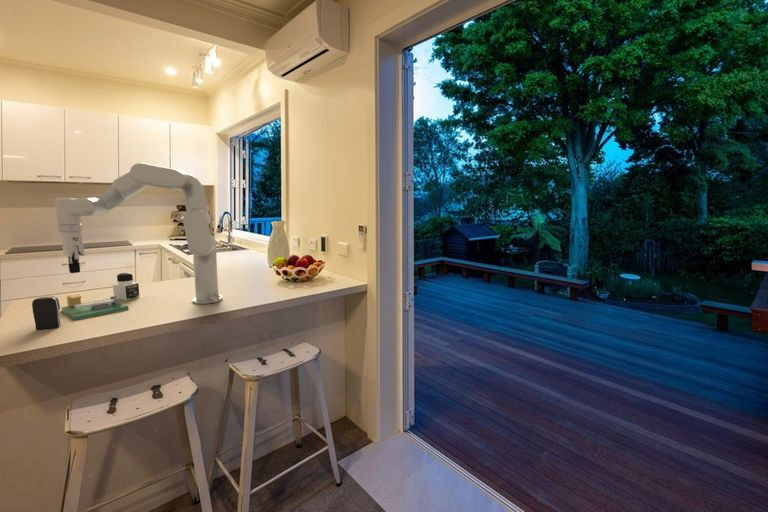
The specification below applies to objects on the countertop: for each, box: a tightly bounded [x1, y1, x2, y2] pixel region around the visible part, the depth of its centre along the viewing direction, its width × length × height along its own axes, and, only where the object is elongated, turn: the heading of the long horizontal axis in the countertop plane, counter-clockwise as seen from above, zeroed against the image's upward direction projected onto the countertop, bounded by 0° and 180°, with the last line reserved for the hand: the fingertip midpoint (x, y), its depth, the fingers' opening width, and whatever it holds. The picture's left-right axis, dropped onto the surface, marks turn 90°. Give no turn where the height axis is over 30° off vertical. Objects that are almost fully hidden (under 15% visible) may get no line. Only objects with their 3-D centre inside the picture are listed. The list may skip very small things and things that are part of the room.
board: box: [60, 295, 129, 321], centre depth 156 cm, size 19×18×5 cm
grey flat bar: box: [75, 298, 116, 308], centre depth 154 cm, size 3×14×1 cm, turn 143°
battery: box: [31, 296, 61, 330], centre depth 135 cm, size 7×4×11 cm, turn 112°
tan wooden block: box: [65, 293, 82, 307], centre depth 155 cm, size 6×4×4 cm, turn 52°
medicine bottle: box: [112, 272, 140, 302], centre depth 173 cm, size 7×7×12 cm
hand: (75, 272), depth 155 cm, fingers closed
